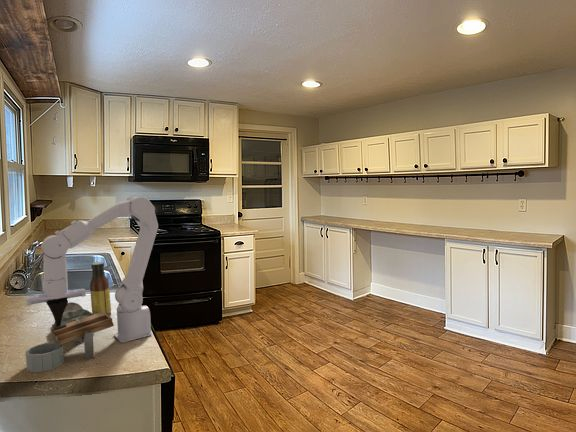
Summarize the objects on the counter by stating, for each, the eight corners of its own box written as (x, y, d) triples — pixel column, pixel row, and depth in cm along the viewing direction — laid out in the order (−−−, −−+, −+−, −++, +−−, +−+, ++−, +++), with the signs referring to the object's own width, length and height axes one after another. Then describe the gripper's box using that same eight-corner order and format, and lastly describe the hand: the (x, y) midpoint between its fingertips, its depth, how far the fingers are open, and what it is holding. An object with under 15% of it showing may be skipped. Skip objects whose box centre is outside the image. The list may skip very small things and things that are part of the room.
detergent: (102, 335, 126) (92, 311, 147) (99, 313, 125) (90, 293, 146) (55, 348, 119) (52, 321, 140) (51, 325, 118) (48, 302, 139)
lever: (101, 315, 123) (100, 308, 123) (114, 326, 113) (112, 319, 113) (50, 331, 114) (49, 324, 114) (59, 345, 105) (57, 337, 104)
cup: (59, 355, 112) (58, 339, 111) (65, 365, 105) (64, 349, 105) (25, 364, 106) (24, 347, 106) (29, 375, 100) (28, 358, 100)
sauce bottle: (106, 312, 147) (103, 260, 145) (114, 316, 143) (112, 262, 142) (88, 317, 142) (85, 263, 140) (96, 321, 138) (93, 265, 136)
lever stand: (80, 341, 121) (79, 317, 120) (94, 359, 109) (92, 332, 108) (73, 343, 120) (71, 318, 119) (86, 361, 108) (84, 334, 107)
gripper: (80, 272, 120) (82, 315, 121) (23, 279, 110) (26, 326, 111) (86, 276, 114) (88, 322, 115) (26, 284, 105) (29, 334, 106)
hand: (58, 325), depth 113 cm, fingers closed, pressing on lever
